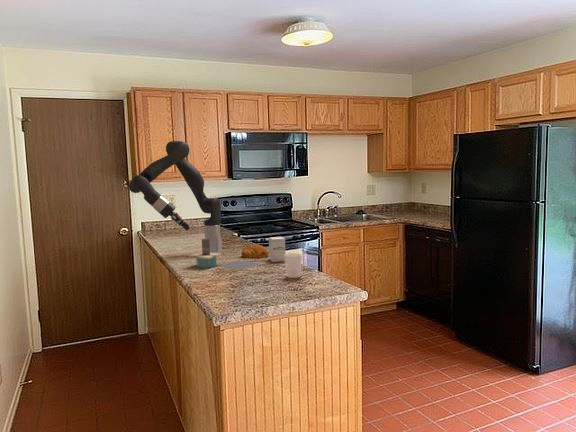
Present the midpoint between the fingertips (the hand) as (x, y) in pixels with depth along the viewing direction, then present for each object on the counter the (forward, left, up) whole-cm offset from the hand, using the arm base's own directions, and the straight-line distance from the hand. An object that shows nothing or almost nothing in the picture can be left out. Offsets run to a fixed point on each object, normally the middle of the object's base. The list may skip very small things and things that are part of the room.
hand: (188, 228), depth 227 cm
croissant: (-38, +15, -21) cm, 46 cm away
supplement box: (-32, +33, -21) cm, 50 cm away
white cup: (-5, +58, -21) cm, 62 cm away
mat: (-14, +21, -20) cm, 32 cm away
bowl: (-6, +6, -20) cm, 22 cm away
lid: (-6, +6, -15) cm, 17 cm away
